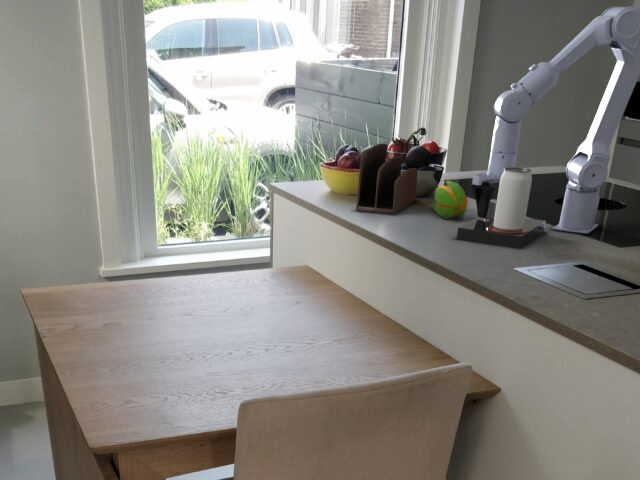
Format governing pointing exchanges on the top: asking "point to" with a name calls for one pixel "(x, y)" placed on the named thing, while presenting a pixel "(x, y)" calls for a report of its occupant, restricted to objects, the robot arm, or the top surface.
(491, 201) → the knob
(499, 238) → the hob
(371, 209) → the letter holder
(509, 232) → the burner ring
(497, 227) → the can
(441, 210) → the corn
